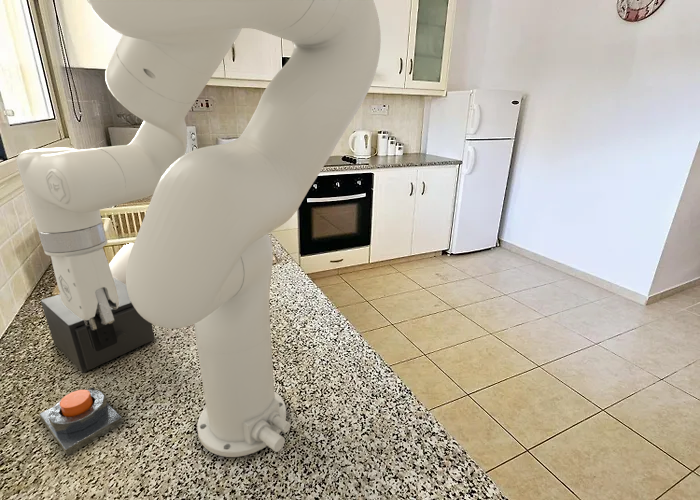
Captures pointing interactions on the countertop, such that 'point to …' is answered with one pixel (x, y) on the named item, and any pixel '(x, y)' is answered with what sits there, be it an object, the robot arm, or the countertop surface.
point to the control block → (81, 423)
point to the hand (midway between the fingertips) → (105, 345)
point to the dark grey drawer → (129, 336)
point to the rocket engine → (121, 263)
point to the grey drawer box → (75, 324)
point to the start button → (76, 403)
